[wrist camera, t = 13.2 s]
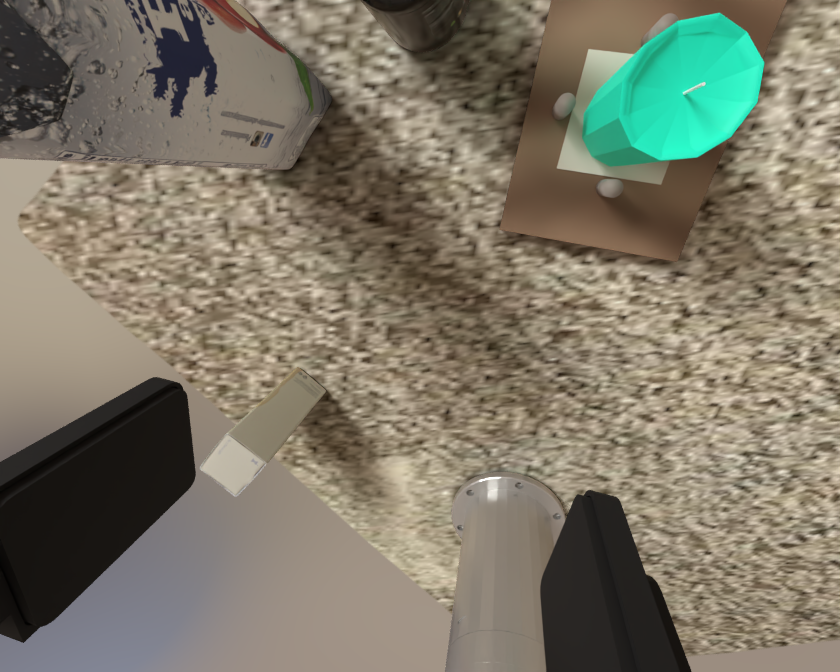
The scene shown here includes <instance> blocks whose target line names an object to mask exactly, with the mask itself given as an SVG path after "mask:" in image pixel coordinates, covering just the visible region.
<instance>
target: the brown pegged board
mask: <svg viewBox="0 0 840 672" xmlns="http://www.w3.org/2000/svg"><path fill="white" fill-rule="evenodd" d="M786 2H787V0H551V4H550V8H549V13H548V17H547V22H546V26H545V31H544V35H543V39H542V44H541V48H540V53H539V57H538V61H537V66H536V70H535V75H534V79H533V84H532V88H531V92H530V97H529V101H528V106H527V110H526V114H525V119H524V123H523V128H522V132H521V137H520V141H519V145H518V150H517V154H516V159H515V163H514V167H513V172H512V176H511V181H510V185H509V190H508V194H507V198H506V203H505V207H504V212H503V216H502V220H501V225H500V230H504V231H509V232H515V233H520V234H526V235H531V236H537V237H543V238H548V239H554V240H559V241H565V242H570V243H576V244H581V245H587V246H592V247H598V248H603V249H609V250H614V251H620V252H625V253H631V254H636V255H642V256H648V257H653V258H659V259H664V260H670V261H675V262H677V261H678V259H679V256H680V254H681V252H682V249H683V247H684V244H685V242H686V240H687V237H688V235H689V232H690V230H691V228H692V225H693V223H694V221H695V218H696V216H697V213H698V211H699V209H700V206H701V204H702V202H703V199H704V197H705V194H706V192H707V190H708V187H709V185H710V183H711V180H712V178H713V175H714V173H715V171H716V168H717V166H718V164H719V161H720V159H721V156H722V154H723V152H724V149H725V147H726V144H727V142H728V140H729V139H727V140H725V141H724V142H722V143H720V144H719V145H717V146H715V147H714V148H712V149H710V150H709V151H707V152H705V153H704V154H702V155H701V156H699V157H697V158H688V159H679V160H671V161H662V162H653V163H645V164H636V165H625V166H613V167H610V166H608V165H606V164H604V163H602V162H600V161H598V160H597V159H595V158H593V157H592V156H591V154H590V153H589V151H588V149H587V147H586V145H585V143H584V141H583V139H582V131H583V117H584V113H585V111H586V109H587V107H588V106H589V104H590V102H591V100H592V99H593V97H594V95H595V94H596V92H597V91H598V90H599V89H600V88H601V87H602V86H603V85H604V84H605V83H606V82H607V81H608V80H609V79H610V78H611V77H612V76H613V75H614V74H615V73H616V72H617V71H618V70H619V69H620V68H621V67H622V66H623V65H624V64H625V63H626V62H627V61H628V60H629V59H630V58H631V57H632V56H633V55H634V54H635V53H636V52H637V51H638V50H639V49H640V48H641V47H642V46H643V45H644V44H645V43H647V42H648V41H650V40H651V39H653V38H654V37H655V36H657V35H658V34H660V33H661V32H663V31H664V30H665V29H667V28H668V27H670V26H671V25H673V24H674V23H675V22H677V21H680V20H685V19H690V18H695V17H700V16H705V15H710V14H716V13H721V14H722V15H724V16H725V17H727V18H728V19H730V20H731V21H732V22H734V23H735V24H737V25H738V26H739V27H741V28H742V29H744V30H745V31H747V33H748V34H749V36H750V38H751V40H752V42H753V43H754V45H755V47H756V49H757V50H758V52H759V54H760V56H761V57H762V59H763V57H764V54H765V52H766V49H767V47H768V45H769V42H770V40H771V37H772V35H773V33H774V30H775V28H776V26H777V23H778V21H779V18H780V16H781V14H782V11H783V9H784V7H785V4H786Z"/></svg>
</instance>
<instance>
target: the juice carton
mask: <svg viewBox="0 0 840 672" xmlns="http://www.w3.org/2000/svg"><path fill="white" fill-rule="evenodd" d="M331 101H332V97H331V95H330V93H329V92H328V91H327V89H326V88H325V87H324V85H323V84H322V83H321V82H320V81H319V79H318V78H317V77H316V76H315V75H314V73H313V72H312V71H311V70H310V69H309V68H308V67H307V66H306V65H305V64H304V63H303V62H302V61H301V60H300V59H298V58H297V57H296V56H295V55H294V54H293V53H291V52H290V51H289V50H287V49H286V48H285V47H284V46H282V45H281V44H280V43H279V42H278V41H277V40H275V38H274V37H273V36H272V35H271V34H270V33H269V32H268V31H267V30H266V29H265V28H264V26H263V25H262V24H261V23H260V22H259V21H258V20H257V19H256V18H255V17H254V16H253V15H252V14H251V13H250V12H249V11H248V10H246V9H245V8H244V7H243V6H242V5H240V4H239V3H238V2H237V1H235V0H0V158H8V159H31V160H55V161H56V160H57V161H79V162H103V163H128V164H152V165H176V166H200V167H224V168H249V169H284V170H285V169H290V168H291V167H293V165H294V164H295V162H296V161H297V159H298V157H299V156H300V154H301V152H302V150H303V148H304V147H305V145H306V143H307V141H308V139H309V138H310V136H311V134H312V133H313V131H314V129H315V128H316V126H317V125H318V123H319V122H320V120H321V119H322V117H323V116H324V114H325V113H326V111H327V109H328V107H329V106H330V104H331Z"/></svg>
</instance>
